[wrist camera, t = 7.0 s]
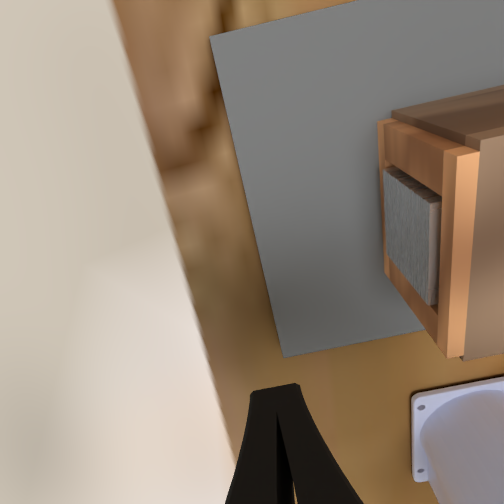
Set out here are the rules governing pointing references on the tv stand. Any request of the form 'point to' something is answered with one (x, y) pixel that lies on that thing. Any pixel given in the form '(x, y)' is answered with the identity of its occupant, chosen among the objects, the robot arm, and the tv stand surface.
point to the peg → (413, 231)
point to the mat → (340, 146)
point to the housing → (456, 214)
